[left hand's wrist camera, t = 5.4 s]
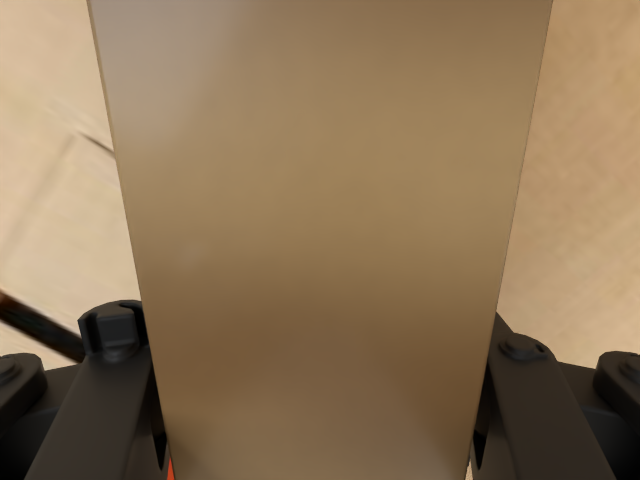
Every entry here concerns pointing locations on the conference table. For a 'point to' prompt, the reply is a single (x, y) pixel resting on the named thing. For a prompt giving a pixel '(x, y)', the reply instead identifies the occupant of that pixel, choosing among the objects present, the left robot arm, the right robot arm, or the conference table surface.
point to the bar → (319, 221)
